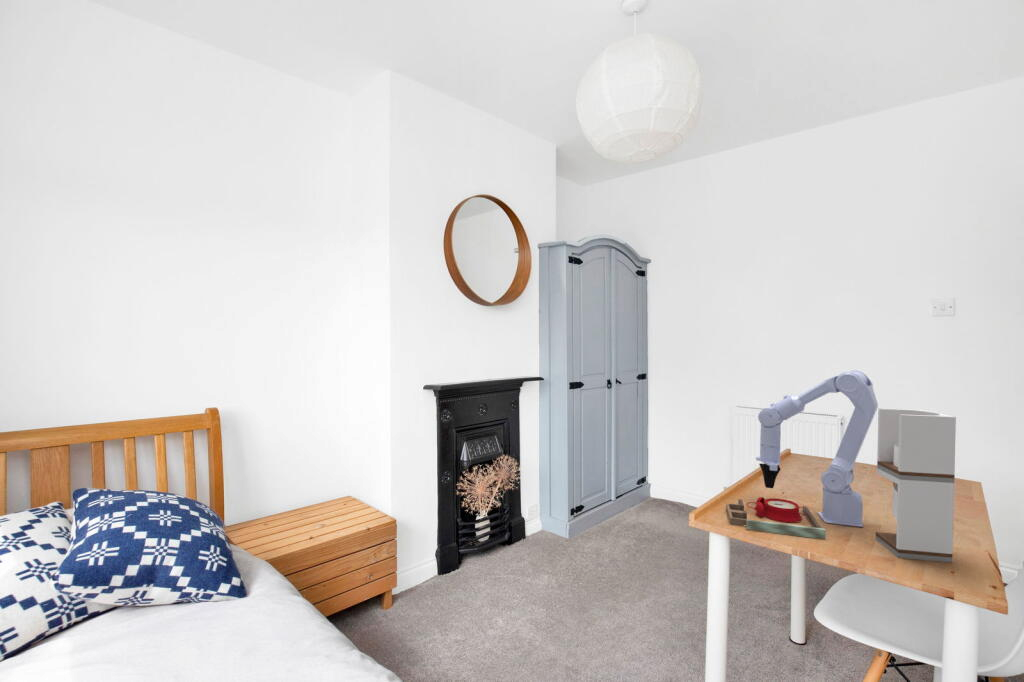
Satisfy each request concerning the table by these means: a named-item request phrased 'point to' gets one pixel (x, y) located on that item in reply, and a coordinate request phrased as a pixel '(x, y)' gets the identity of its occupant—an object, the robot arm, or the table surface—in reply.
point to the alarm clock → (778, 510)
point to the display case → (918, 481)
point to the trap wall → (786, 526)
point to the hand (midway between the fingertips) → (769, 487)
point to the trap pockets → (735, 514)
